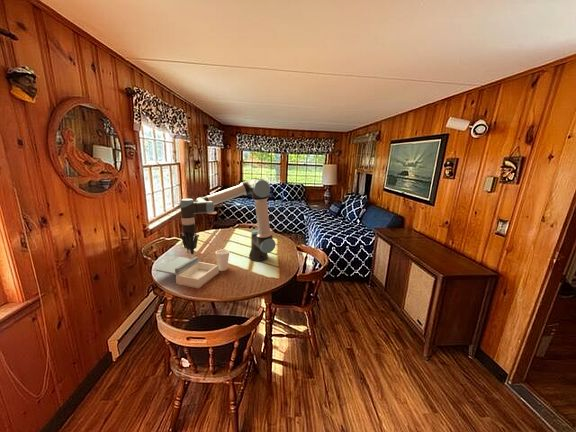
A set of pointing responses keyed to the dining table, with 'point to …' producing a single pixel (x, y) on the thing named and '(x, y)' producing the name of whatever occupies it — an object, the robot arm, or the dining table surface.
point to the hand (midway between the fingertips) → (191, 258)
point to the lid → (178, 265)
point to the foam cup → (222, 259)
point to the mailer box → (197, 275)
